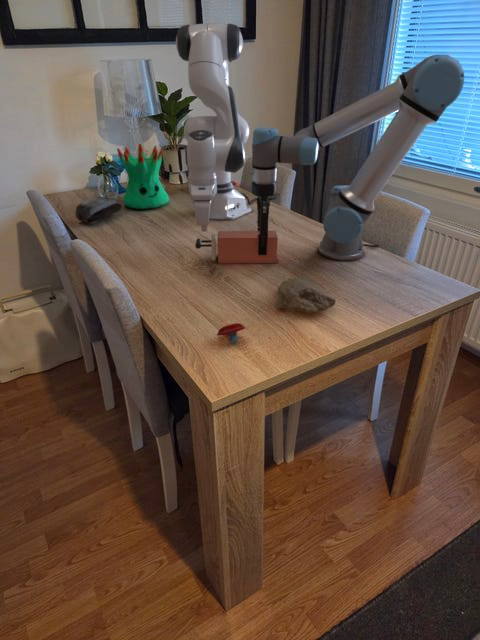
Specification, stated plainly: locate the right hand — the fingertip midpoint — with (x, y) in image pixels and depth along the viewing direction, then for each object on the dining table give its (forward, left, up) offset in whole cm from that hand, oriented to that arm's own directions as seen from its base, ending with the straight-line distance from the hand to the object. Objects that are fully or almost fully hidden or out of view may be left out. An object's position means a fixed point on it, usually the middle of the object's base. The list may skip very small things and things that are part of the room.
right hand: (261, 250), depth 150 cm
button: (+18, +47, -3) cm, 51 cm away
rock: (+57, -51, -3) cm, 77 cm away
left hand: (+19, -3, +7) cm, 21 cm away
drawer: (+10, -2, -2) cm, 11 cm away
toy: (+38, -69, -3) cm, 79 cm away
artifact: (-4, +32, -3) cm, 32 cm away
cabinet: (+5, -1, -3) cm, 6 cm away
